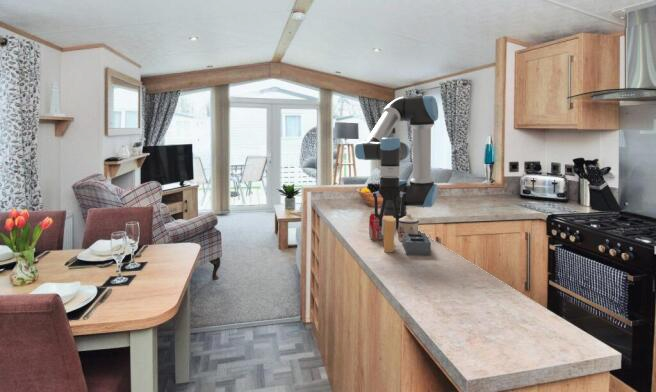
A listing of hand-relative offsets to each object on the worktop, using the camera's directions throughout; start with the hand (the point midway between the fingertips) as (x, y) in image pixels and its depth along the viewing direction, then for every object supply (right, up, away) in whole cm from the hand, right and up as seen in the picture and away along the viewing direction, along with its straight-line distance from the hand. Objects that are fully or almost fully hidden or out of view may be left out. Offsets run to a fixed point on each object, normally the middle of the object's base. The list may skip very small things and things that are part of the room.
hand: (388, 234), depth 178 cm
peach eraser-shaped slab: (0, -6, +1) cm, 6 cm away
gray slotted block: (+11, -6, 0) cm, 13 cm away
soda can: (-3, -4, +19) cm, 19 cm away
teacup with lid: (+11, -4, +16) cm, 20 cm away
